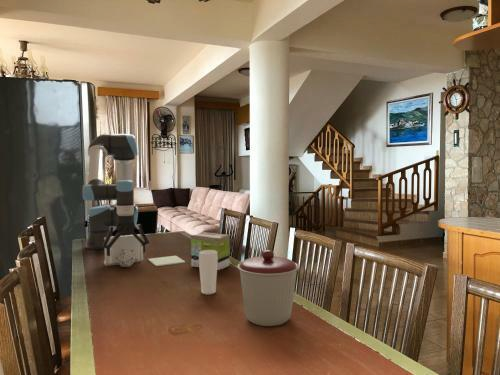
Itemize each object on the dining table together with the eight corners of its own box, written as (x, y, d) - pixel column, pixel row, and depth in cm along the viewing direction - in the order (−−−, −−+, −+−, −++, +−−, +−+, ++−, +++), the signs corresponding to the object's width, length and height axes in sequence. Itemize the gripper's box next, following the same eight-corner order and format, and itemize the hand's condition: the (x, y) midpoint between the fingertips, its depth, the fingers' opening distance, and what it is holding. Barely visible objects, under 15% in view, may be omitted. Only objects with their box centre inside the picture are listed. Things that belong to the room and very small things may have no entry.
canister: (262, 304, 131) (262, 241, 129) (310, 318, 119) (310, 249, 118) (225, 321, 117) (224, 251, 115) (275, 338, 105) (274, 260, 104)
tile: (148, 260, 192) (148, 258, 192) (175, 256, 199) (175, 255, 199) (155, 266, 180) (155, 265, 180) (185, 262, 187) (185, 261, 187)
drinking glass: (220, 290, 145) (220, 250, 144) (213, 296, 139) (212, 254, 138) (204, 288, 147) (203, 249, 147) (195, 294, 141) (195, 253, 140)
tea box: (190, 267, 179) (190, 234, 178) (203, 262, 188) (202, 231, 187) (218, 271, 172) (218, 237, 171) (230, 265, 181) (230, 234, 180)
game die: (130, 274, 181) (144, 256, 183) (123, 272, 173) (137, 253, 175) (116, 263, 183) (129, 245, 185) (108, 261, 175) (122, 242, 177)
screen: (103, 263, 187) (103, 236, 186) (138, 259, 194) (137, 233, 193) (105, 266, 181) (105, 238, 180) (140, 261, 189) (140, 235, 188)
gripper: (97, 217, 168) (98, 266, 169) (155, 213, 180) (156, 259, 181) (94, 215, 175) (96, 262, 176) (151, 212, 187) (151, 256, 188)
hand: (126, 261), depth 179 cm, fingers open, 13 cm apart
